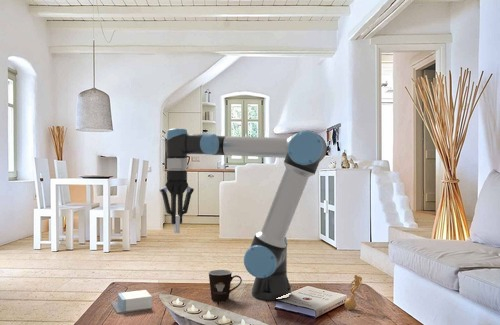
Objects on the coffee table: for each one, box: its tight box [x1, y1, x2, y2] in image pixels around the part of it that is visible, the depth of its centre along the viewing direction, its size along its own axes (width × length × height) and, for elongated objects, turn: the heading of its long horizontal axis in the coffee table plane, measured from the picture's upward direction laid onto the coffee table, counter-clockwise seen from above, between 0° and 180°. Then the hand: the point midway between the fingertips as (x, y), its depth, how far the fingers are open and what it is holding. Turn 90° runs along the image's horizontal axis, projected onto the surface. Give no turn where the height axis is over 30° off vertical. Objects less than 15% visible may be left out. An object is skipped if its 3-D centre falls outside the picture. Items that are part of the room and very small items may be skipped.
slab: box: [117, 289, 153, 312], centre depth 163 cm, size 4×9×10 cm
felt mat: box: [110, 300, 151, 314], centre depth 164 cm, size 11×13×1 cm
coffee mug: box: [208, 269, 243, 303], centre depth 172 cm, size 12×9×10 cm
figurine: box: [344, 274, 363, 311], centre depth 161 cm, size 8×6×12 cm
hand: (176, 232), depth 175 cm, fingers closed
